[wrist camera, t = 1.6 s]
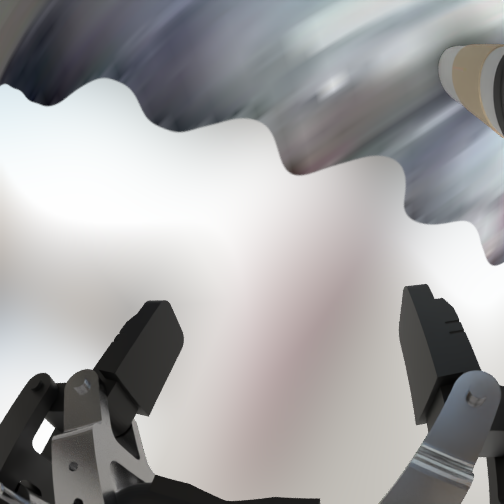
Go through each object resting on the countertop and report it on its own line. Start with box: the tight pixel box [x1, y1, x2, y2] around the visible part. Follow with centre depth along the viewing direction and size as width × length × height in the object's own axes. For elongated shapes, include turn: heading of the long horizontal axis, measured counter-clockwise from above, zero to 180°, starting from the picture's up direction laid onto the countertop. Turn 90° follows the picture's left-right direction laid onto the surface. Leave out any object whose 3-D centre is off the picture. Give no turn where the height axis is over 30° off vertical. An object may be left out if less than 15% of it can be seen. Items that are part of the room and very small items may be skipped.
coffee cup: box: [438, 44, 504, 138], centre depth 15 cm, size 9×9×15 cm
